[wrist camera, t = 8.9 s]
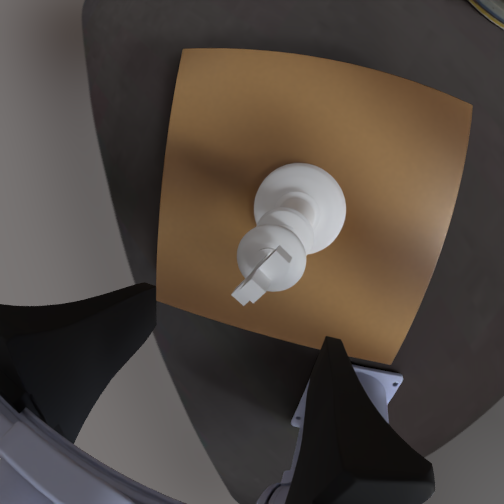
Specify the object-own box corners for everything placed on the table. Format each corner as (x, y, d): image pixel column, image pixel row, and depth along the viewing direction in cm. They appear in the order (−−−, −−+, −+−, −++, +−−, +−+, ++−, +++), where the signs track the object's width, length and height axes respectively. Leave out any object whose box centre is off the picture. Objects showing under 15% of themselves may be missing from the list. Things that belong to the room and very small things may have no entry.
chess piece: (237, 209, 17) (127, 281, 7) (297, 143, 15) (241, 127, 5) (301, 269, 17) (260, 400, 8) (364, 209, 15) (409, 296, 6)
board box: (384, 333, 21) (390, 365, 17) (180, 278, 24) (155, 300, 20) (448, 112, 15) (473, 105, 11) (208, 63, 18) (182, 48, 14)
